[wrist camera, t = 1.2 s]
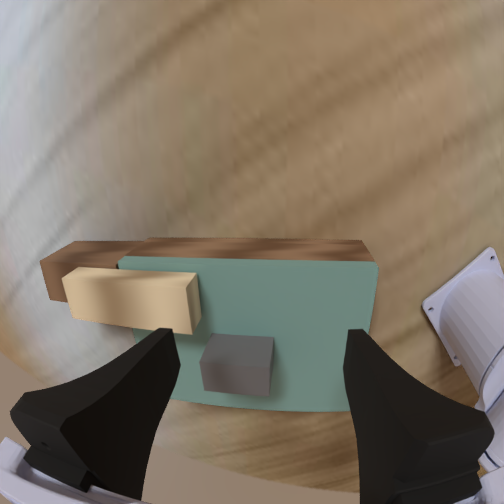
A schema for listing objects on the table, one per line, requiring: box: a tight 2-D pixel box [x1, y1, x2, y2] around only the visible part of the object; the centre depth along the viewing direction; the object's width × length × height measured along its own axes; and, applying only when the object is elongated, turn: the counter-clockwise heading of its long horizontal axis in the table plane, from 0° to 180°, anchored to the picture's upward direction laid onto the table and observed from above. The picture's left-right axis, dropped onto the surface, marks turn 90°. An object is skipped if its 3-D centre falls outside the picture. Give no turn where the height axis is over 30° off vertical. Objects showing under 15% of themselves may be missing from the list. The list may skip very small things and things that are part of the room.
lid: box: [118, 256, 379, 412], centre depth 19 cm, size 16×12×4 cm
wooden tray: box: [40, 238, 374, 303], centre depth 22 cm, size 24×12×5 cm, turn 92°
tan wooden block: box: [62, 267, 202, 335], centre depth 18 cm, size 9×3×2 cm, turn 92°
